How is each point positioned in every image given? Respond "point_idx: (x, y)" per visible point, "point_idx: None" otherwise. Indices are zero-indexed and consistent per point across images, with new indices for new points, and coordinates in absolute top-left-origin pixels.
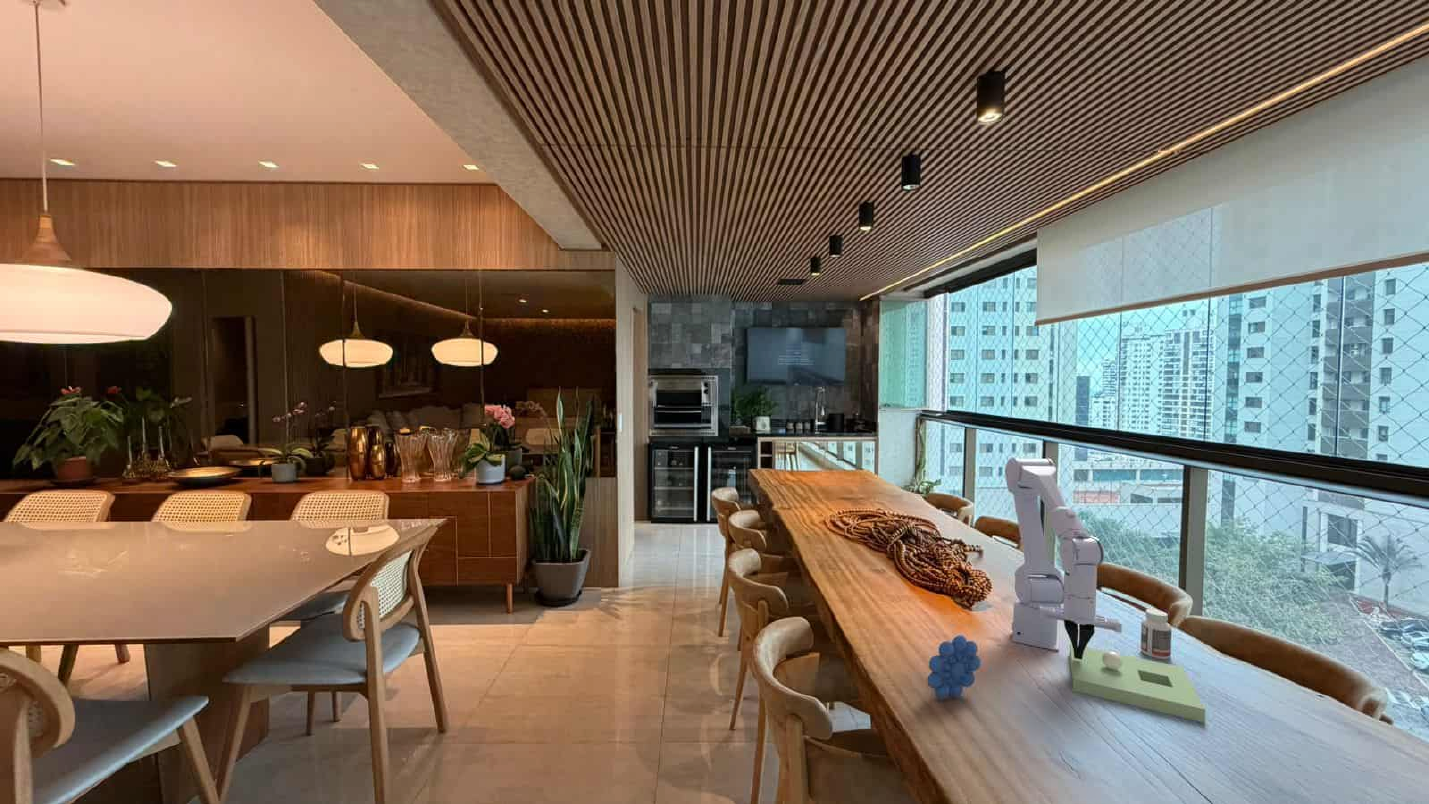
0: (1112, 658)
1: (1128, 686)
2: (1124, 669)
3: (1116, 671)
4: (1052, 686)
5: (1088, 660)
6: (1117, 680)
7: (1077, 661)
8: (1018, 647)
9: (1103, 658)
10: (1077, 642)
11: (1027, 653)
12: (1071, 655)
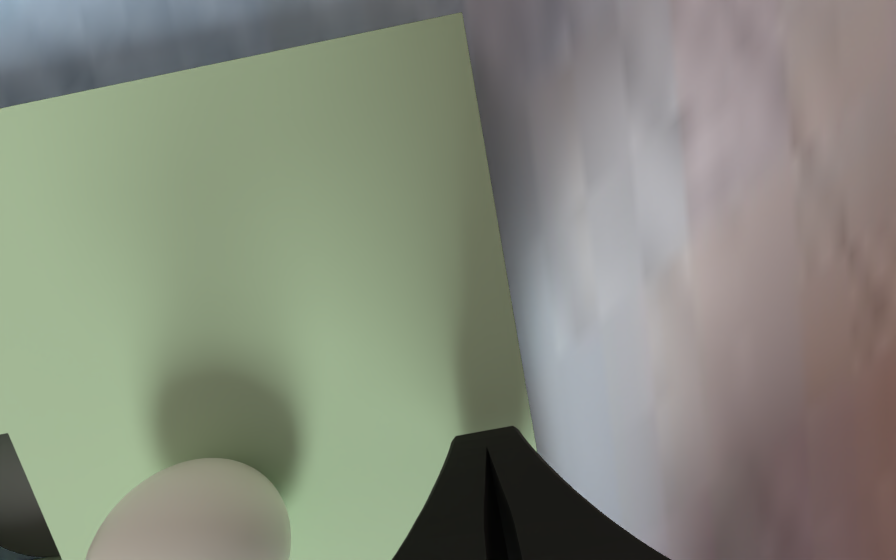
0: (143, 529)
1: (45, 224)
2: None
3: None
4: (604, 9)
5: None
6: (145, 286)
7: None
8: (882, 531)
9: (254, 519)
10: (521, 537)
11: (818, 476)
12: None
